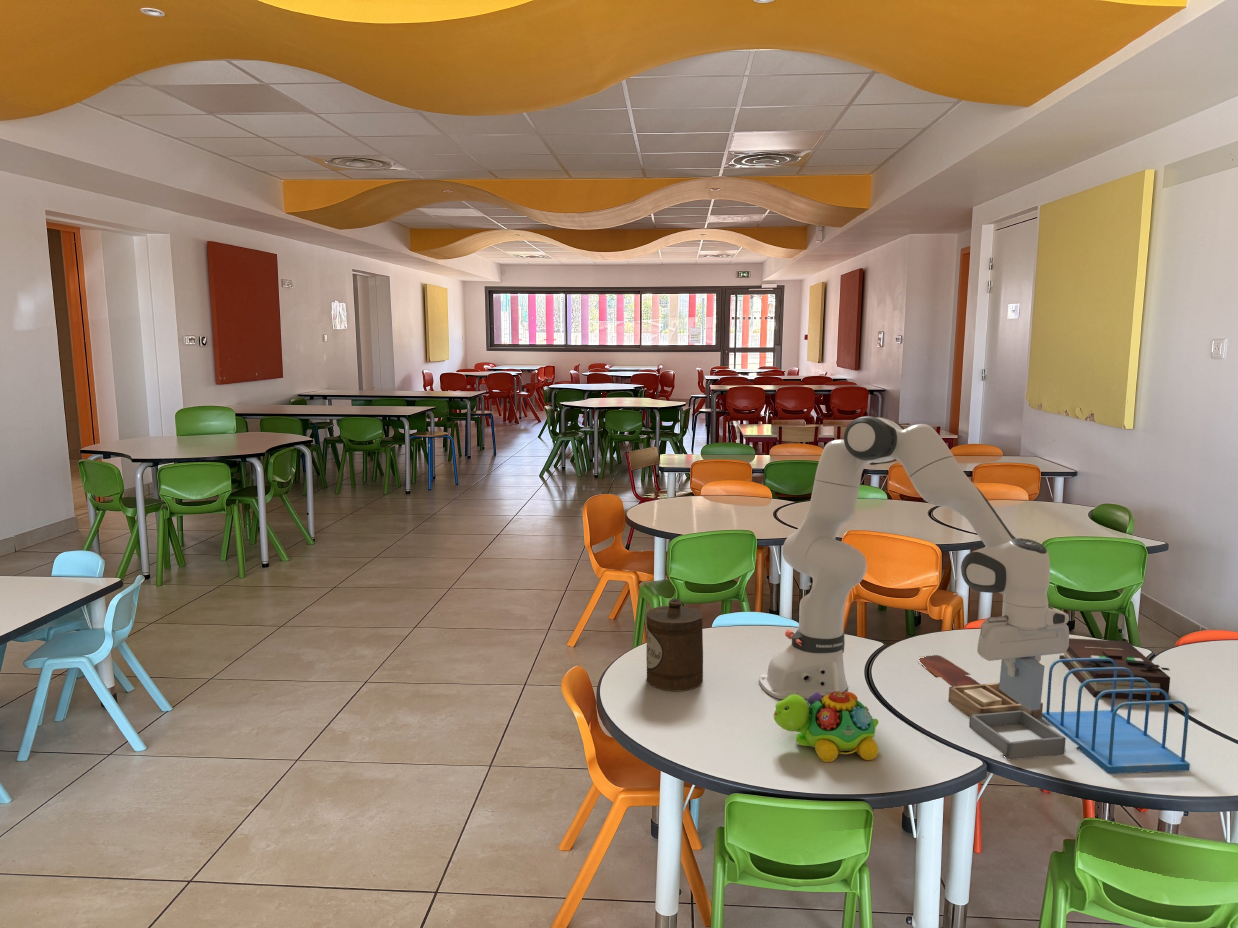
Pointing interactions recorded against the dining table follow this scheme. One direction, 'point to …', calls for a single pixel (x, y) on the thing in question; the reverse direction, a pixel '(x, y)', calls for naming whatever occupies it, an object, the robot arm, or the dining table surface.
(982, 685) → the divided wooden box
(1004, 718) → the tray
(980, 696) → the offcut slab upper
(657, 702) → the dining table surface
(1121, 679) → the file sorter
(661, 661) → the wooden container
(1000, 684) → the grey square block
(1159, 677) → the decorative book
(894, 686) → the dining table surface
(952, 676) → the wooden tablet
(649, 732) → the dining table surface
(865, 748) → the turtle toy
